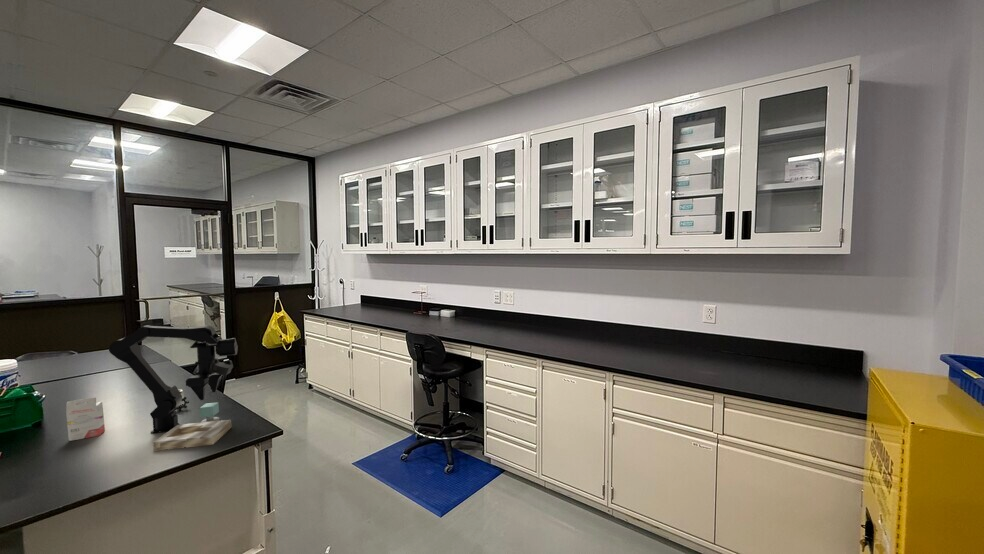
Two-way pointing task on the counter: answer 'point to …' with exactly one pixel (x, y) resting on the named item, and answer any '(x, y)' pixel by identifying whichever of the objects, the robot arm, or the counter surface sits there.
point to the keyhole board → (193, 442)
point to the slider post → (209, 412)
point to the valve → (182, 402)
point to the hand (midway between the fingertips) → (208, 395)
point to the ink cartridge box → (84, 419)
